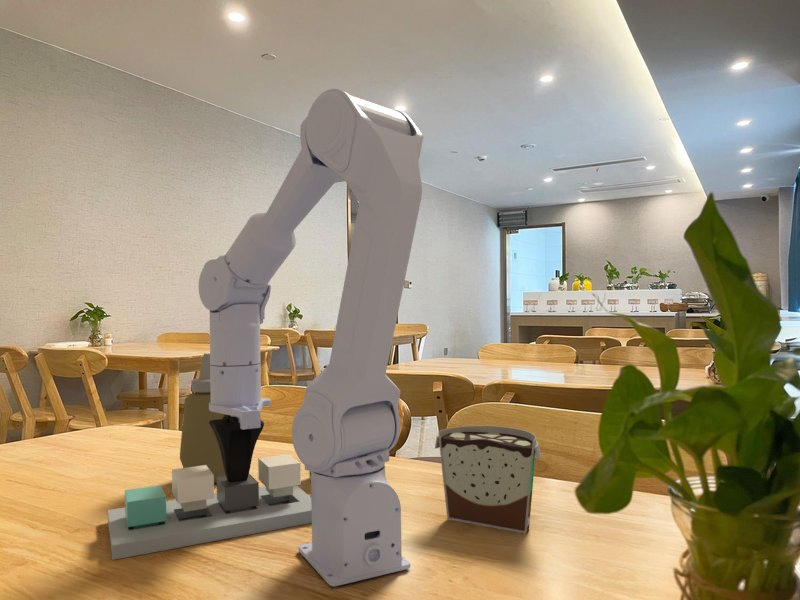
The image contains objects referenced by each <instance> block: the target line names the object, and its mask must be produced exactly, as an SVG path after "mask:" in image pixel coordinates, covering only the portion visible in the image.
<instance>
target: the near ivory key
mask: <svg viewBox="0 0 800 600" xmlns="http://www.w3.org/2000/svg"><path fill="white" fill-rule="evenodd" d="M257 460H258V461H257V463H258V464H257V466H258V469H257V470H258V471H257V475H258V477H257V478H258V481H259V482H261V484H263V485H264V486H266V491H267V492H268V493H269V494H270V495H272V496H273V497H279V496H285V495H292V494H293V486H296V485H297V486H300V485H302V483H301V482H302V481H301V475H302V474H301V461H298V460H297V459H296V458H294V457H293V456H291V455H290V454H289V453H287V454H281V455H273V456H265V457H258V459H257Z"/></svg>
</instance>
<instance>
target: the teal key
mask: <svg viewBox="0 0 800 600" xmlns="http://www.w3.org/2000/svg"><path fill="white" fill-rule="evenodd" d="M166 501H167V495H166V493H165V491H164V489H163V485H162V484H160V485H153V486H145V487H139V488H138V487H136V488H131V489H124V507H125V516H126V521H127V526H128V527H132V526H133V530H134V529H139V528H145V527H151V526H157V525H159V522H162V521H166Z"/></svg>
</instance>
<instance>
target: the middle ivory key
mask: <svg viewBox="0 0 800 600" xmlns="http://www.w3.org/2000/svg"><path fill="white" fill-rule="evenodd" d="M171 483H172V484H171V492H172V495H173V496H174V498H175V499H174V500H176V501H177V503H178V504H180V505H181V507H182V509H183V511H184V512H186V511H193V510H199V509H205V508H207V505H206V499H212V498H214V494H215V483H214V474H213V473H212V472H211V471H210V469H209V468H208V467H207V466H206V465H202V466H195V467H187V468H183V467H180V468H174V469H171Z"/></svg>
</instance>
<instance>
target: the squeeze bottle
mask: <svg viewBox="0 0 800 600" xmlns="http://www.w3.org/2000/svg"><path fill="white" fill-rule="evenodd" d="M199 370H200V371H199V375H198V378H193V379H191V382H190V383H191V392H192V393H190V394H188V395H187V396H186V397H184V403H183V414H182V415H183V417H182V425H181V426H182V427H181V437H180V449H179V450H180V451H179V460H180V462H181V465H182V468H187V467H195V466H202V465H206V466H207V467H208V468H209V469H210V471H211V472H212V473H213V474H214V484H217V477H223V476H226V475H225V471H224V466H223V461H222V456H221V451H220V448H219V444H218V441H217V438H216V436H215V434H214V432H213V430H212V428H211V426H210V424H209V421H211V420H218V419H223V417H224V414H221V413H216V412H212V411H210V410H209V403H210V402H211V385H210V352H209V353H203V355H202V361H201V366H200V369H199Z"/></svg>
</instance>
